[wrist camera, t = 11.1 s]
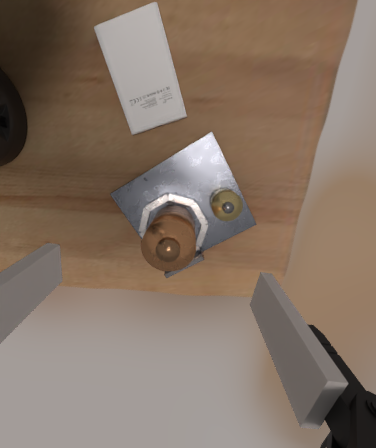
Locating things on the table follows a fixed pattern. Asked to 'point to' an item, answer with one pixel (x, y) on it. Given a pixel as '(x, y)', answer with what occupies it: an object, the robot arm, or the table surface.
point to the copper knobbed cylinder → (170, 239)
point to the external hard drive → (142, 68)
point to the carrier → (189, 195)
